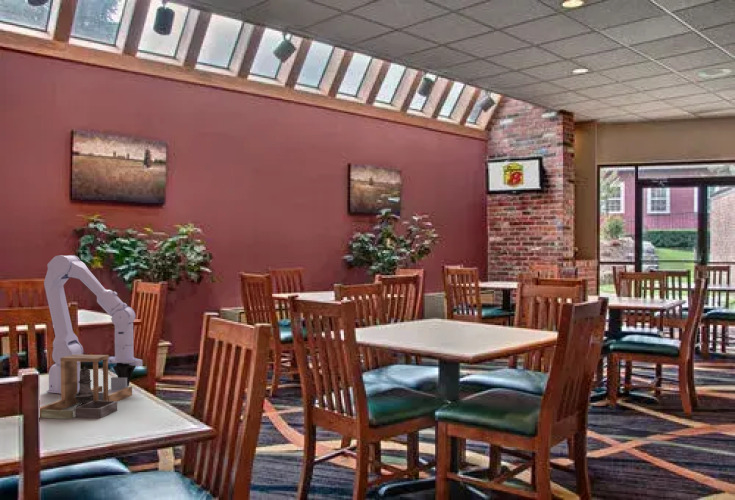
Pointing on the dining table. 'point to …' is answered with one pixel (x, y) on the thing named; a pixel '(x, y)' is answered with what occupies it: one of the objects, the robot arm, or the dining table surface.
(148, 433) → the dining table surface
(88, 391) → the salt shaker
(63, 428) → the dining table surface
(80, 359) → the brown wooden frame
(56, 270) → the robot arm
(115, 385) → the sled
